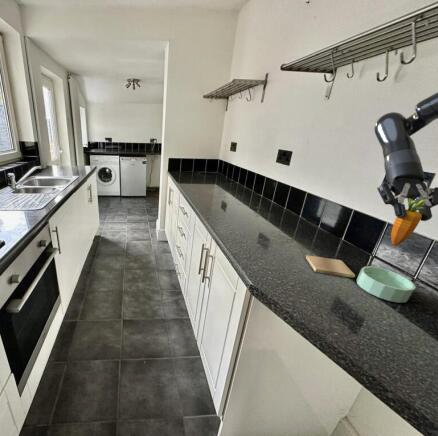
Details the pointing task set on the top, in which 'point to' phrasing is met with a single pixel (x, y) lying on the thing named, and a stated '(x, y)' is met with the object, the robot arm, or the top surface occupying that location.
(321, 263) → the cutting board
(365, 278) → the bowl
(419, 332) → the top surface
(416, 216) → the carrot
